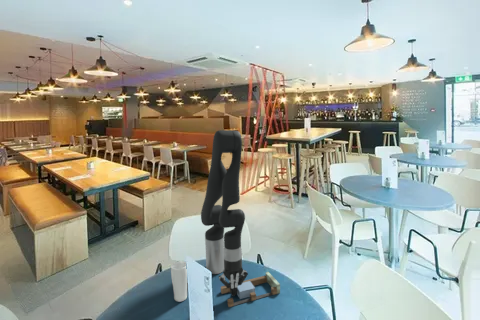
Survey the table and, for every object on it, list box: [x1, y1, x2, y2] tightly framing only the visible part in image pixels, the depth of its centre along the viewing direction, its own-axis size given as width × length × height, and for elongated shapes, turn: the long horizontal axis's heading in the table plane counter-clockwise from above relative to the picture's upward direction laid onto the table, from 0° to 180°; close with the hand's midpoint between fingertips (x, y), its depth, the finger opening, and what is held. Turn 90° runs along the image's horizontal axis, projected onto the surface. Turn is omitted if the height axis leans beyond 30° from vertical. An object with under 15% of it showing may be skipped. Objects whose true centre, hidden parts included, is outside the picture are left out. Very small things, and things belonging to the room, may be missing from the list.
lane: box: [220, 271, 281, 308], centre depth 115 cm, size 11×24×4 cm, turn 112°
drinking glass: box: [170, 260, 188, 303], centre depth 112 cm, size 7×7×15 cm
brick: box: [236, 281, 256, 300], centre depth 115 cm, size 6×7×4 cm
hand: (233, 294), depth 113 cm, fingers closed
